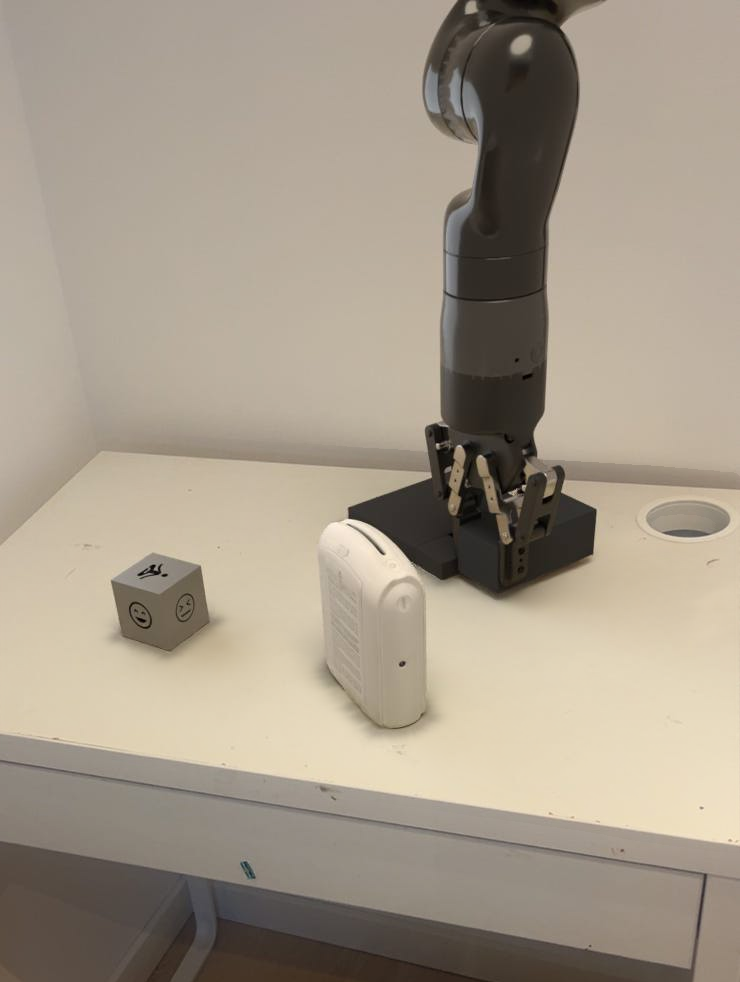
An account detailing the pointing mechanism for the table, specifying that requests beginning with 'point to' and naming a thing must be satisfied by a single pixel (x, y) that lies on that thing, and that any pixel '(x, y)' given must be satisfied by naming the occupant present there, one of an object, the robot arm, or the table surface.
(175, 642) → the dice cube
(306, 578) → the table surface
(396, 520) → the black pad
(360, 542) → the photo printer
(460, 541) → the black t-shaped block
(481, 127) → the robot arm
